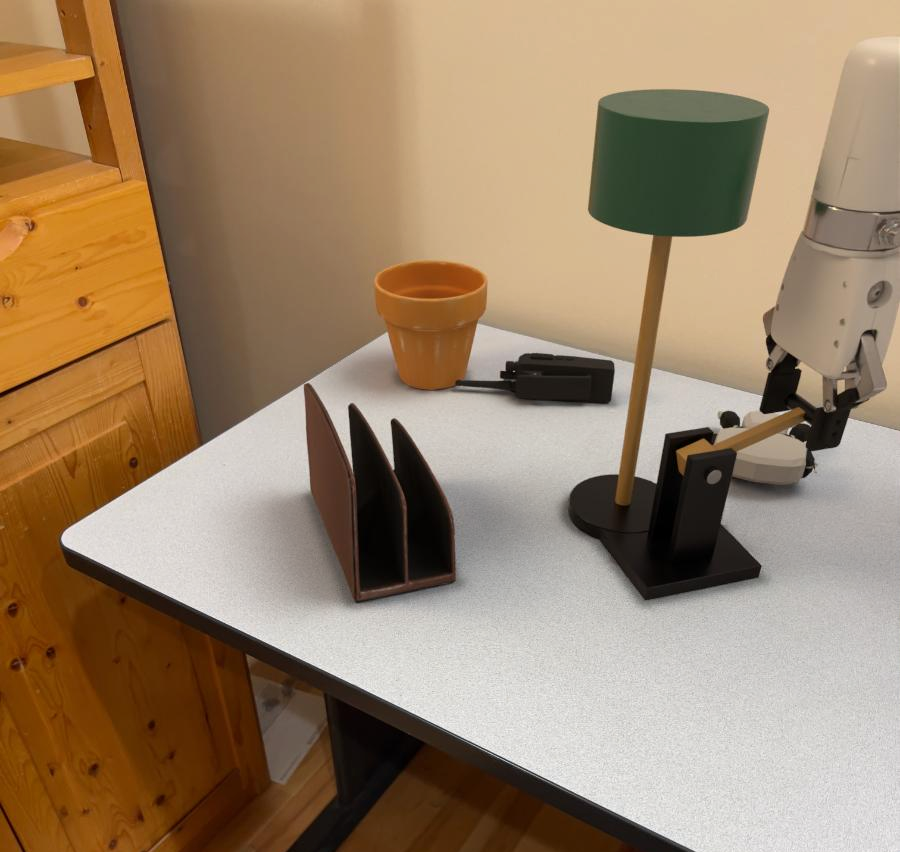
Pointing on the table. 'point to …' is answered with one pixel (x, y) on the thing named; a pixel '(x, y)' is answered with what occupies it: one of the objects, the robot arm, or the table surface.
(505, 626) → the table surface
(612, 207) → the desk lamp
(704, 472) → the black pivot bracket
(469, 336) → the flower pot
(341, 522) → the letter holder
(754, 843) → the table surface
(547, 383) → the walkie-talkie
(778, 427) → the switch lever
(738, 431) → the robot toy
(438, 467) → the table surface
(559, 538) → the table surface
